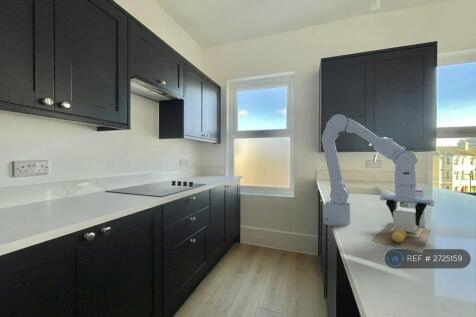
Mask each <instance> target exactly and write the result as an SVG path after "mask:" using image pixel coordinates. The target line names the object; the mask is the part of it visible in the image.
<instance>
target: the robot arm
mask: <svg viewBox="0 0 476 317" xmlns="http://www.w3.org/2000/svg"><path fill="white" fill-rule="evenodd" d="M345 131H346V132H347V133H353V134H356V135H358V136H359V137H361V138H363V139H364V140H366V141H368V142H369V143H370V144H372V146H373V149H374V150H375V151H376V152H377V153H379V154H380V155H382V156H383V157H385V158H386V159H387V160H390V161H391V160H392V162H393V164H394V165H395V166H394V194H380V195H379V196H380V197H379V198H380V201H386V202H385V204H386V206H387V208H388V209H389V211H390V214H391V216H392V218H393V211H394V210H395V209H396V208H397V207H398V203H400V202H404V203H413V204H417V205H415V209H416V226H418V227H419V222H420V218H421V215H422V213H423V211H424V212H425V209H426V208H427V206H429V207H435V200H434V199H433V198H427V197H426V198H425V197H424V198H419V197H416V188H417V185H416V180H417V179H416V164H418V158H417V156H416V154H415V153H414V152H411V151H410V150H406V149H407V147H406V146H401V145H400V144H398V143H396V142H395V141H394V139H393V138H392V137H389V138H388V137H386V136H383V137H381V136H380V137H379V136H378V135H376V134H375V133H373V132H372V131H370V130H369V129H368V128H366V126H363V125H362V124H360V123H359V122H357V121H355V120H353V119H352V118H349V117H346V115H344V114H339V113H338V114H335V115H333V116H331V117H330V118H329V119H328V121H327V122H326V125H325V128H324V131H323V133H322V135H321V142H322V148H323V152H324V156H325V161H326V166H327V171H328V176H329V180H330V181H329V182H330V192H329V198H330V199H331V200H327V201H325V202H324V204H323V222H322V223H323V224H324V225H327V226H332V227H335V226H337V225H338V226H349V225H351V202H350V201H349V200H348V198H349V194H350V191H349V189H348V187H347V186H346V184H345V181H344V178H343V173H342V169H341V164H340V160H339V155H338V152H337V147H336V142H335V141H336V139H337V138H339V136H340V135H341V134H342V133H344V132H345ZM411 201H412V202H411Z"/></svg>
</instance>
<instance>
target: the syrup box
mask: <svg viewBox="0 0 476 317" xmlns="http://www.w3.org/2000/svg"><path fill="white" fill-rule="evenodd" d="M424 194H425V192H424V189H421V188H419V187H416V197H419V198H425V195H424ZM411 202H412V201H411ZM415 205H417V204H413V203H404V202H399V207H406V208H414V209H415ZM425 215H426V214H425V210H424V211H423V213H422V215H421V218H420V222H419V226H418V228H423V227H424V228H425V227H426V218H425V217H426V216H425Z"/></svg>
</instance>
